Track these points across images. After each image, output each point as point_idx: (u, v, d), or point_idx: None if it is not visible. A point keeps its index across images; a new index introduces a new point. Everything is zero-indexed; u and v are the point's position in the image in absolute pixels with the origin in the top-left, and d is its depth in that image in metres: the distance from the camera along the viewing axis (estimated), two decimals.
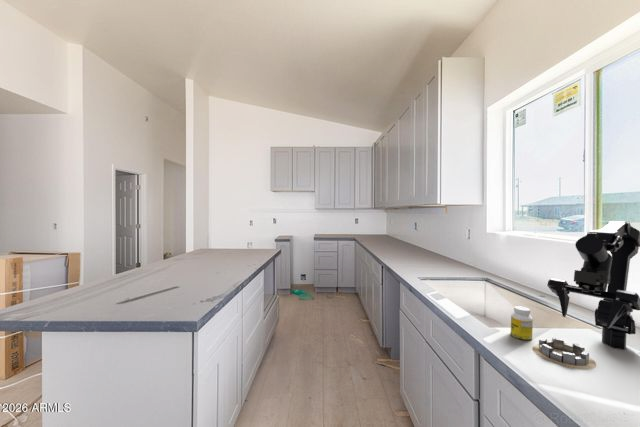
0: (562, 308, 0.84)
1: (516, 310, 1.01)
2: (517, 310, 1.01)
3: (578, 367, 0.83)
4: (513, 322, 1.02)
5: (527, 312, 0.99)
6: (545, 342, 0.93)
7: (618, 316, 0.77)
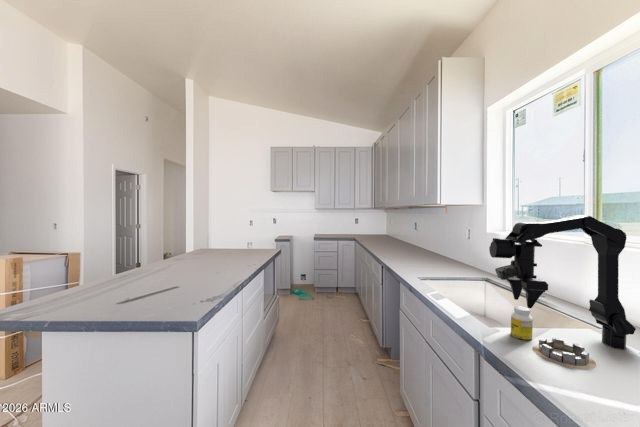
0: (513, 293, 1.07)
1: (516, 310, 1.01)
2: (517, 310, 1.01)
3: (578, 367, 0.83)
4: (513, 322, 1.02)
5: (527, 312, 0.99)
6: (545, 342, 0.93)
7: (535, 297, 0.96)
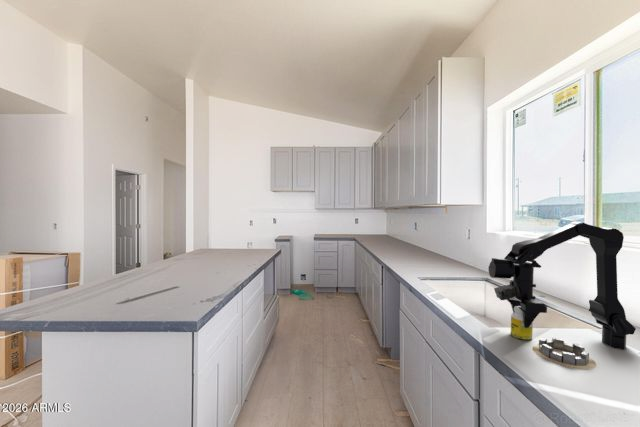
0: None
1: (516, 310, 1.01)
2: (517, 310, 1.01)
3: (578, 367, 0.83)
4: (513, 322, 1.02)
5: None
6: (545, 342, 0.93)
7: (532, 317, 0.97)
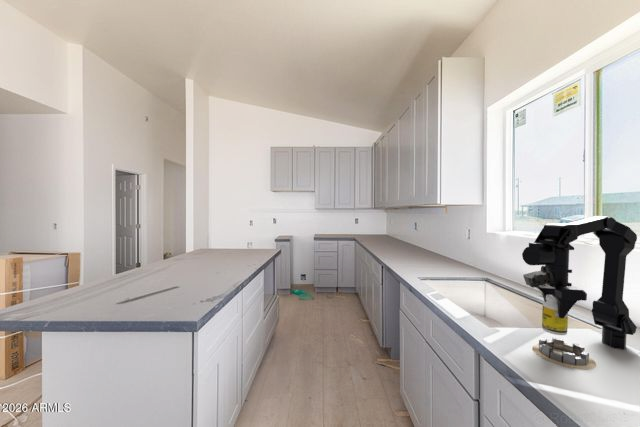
0: None
1: (549, 299, 0.91)
2: (550, 298, 0.91)
3: (578, 367, 0.83)
4: (545, 312, 0.91)
5: None
6: (545, 342, 0.93)
7: (568, 306, 0.87)
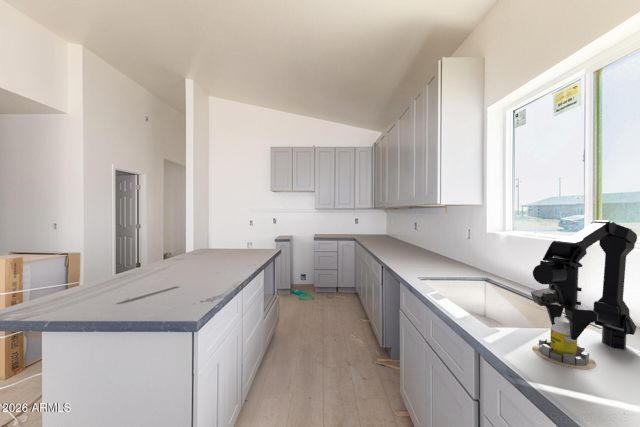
0: (550, 320, 0.94)
1: (557, 322, 0.88)
2: (559, 322, 0.88)
3: (578, 367, 0.83)
4: (554, 336, 0.89)
5: None
6: (545, 342, 0.93)
7: (581, 328, 0.83)
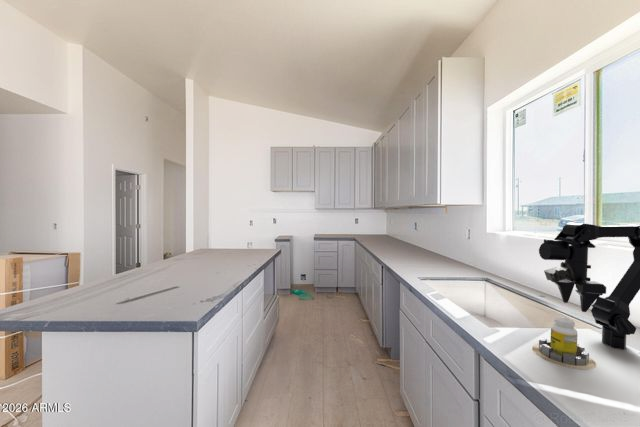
0: None
1: (558, 322, 0.88)
2: (559, 322, 0.88)
3: (578, 367, 0.83)
4: (554, 336, 0.89)
5: (571, 324, 0.86)
6: (545, 342, 0.93)
7: (591, 301, 0.92)
